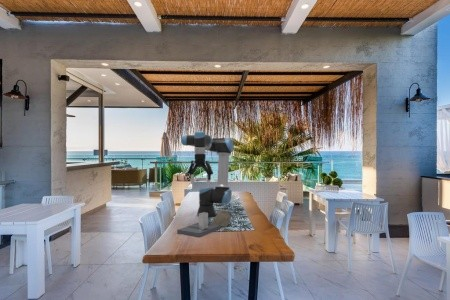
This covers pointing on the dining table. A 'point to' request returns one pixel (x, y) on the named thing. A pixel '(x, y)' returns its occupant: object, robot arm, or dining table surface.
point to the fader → (203, 220)
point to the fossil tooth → (222, 219)
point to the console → (198, 230)
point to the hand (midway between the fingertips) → (200, 184)
